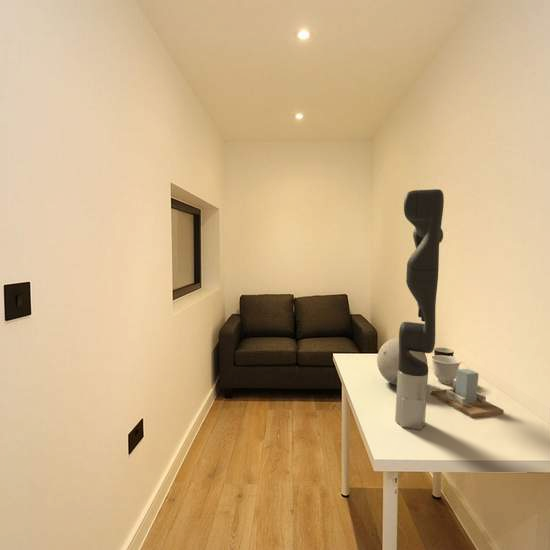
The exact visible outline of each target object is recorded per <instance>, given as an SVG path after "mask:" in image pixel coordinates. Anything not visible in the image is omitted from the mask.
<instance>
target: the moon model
mask: <svg viewBox="0 0 550 550" xmlns="http://www.w3.org/2000/svg"><path fill="white" fill-rule="evenodd" d="M410 353H411V354H412V355H413V356H414V357H416V358H417V359H419V360H421V361H423V362H425V363H426V364H427V365H428V358H427V355H426V353H422V352H415V351H410ZM398 362H399V337H395V338H394V337H393V338H391V339H389V340H387V341H386V342H384V343H383V344H382V345H381V346H380V348H379V350H378V352H377V357H376V363H377V368H378V371H379V372H380V375H381V376H382V377H383V378H384V379H385V380H386V381H387V382H389V383H390V384H392V385H395V386H397V378H398Z"/></svg>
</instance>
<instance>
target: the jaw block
mask: <svg viewBox="0 0 550 550" xmlns="http://www.w3.org/2000/svg"><path fill="white" fill-rule="evenodd" d="M455 381H456V390H455V393H456V394H458V395H459V396H461V397H463V398H465V403H473V402H476V400H477V392H478V386H479V385H478V383H479V373H478V372H477V371H474V370H473V369H469V368H460V369H459V368H458V369H457V376H456V378H455Z"/></svg>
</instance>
